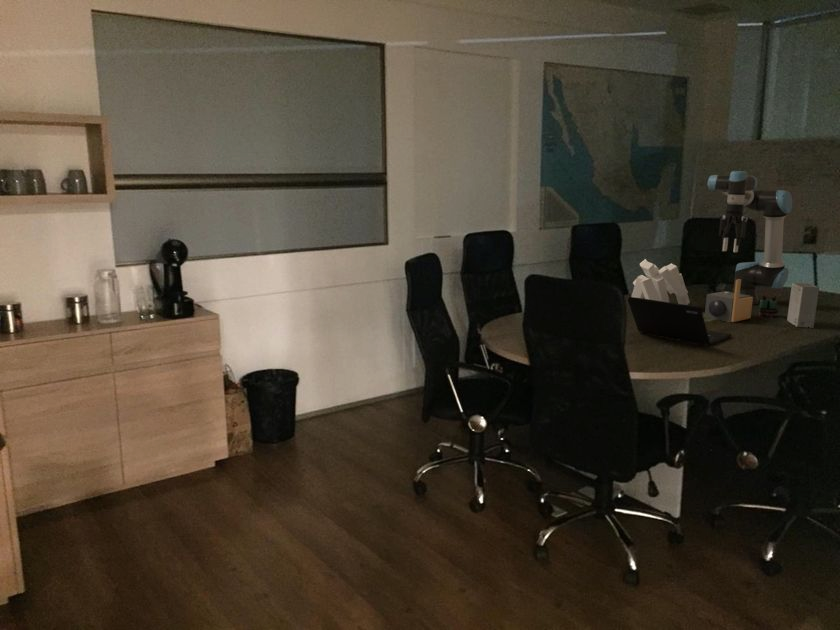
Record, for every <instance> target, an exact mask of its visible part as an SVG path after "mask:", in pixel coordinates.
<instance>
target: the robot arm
mask: <svg viewBox="0 0 840 630" xmlns="http://www.w3.org/2000/svg"><path fill="white" fill-rule="evenodd" d="M757 186H758V178H757V177H755V176H754V175H751V174H748V171H745V170H743V171H742V170H739V171H737V170H733V171H731V172H730V174H729V175H728V174H712V175H710V176H709V177H708V179H707V187H708V189H709V191H710V190H711V191H719V192H721V193H722V194H724V195H726V196H727V198H726V199H727V201H726V203H727V204H726V209H725V214H724V215H720V216H719V230H718V236H719V237H722V239H721V244H722V252H727V251H728V245H729V237H728V235H729V232H730V229H731V226H732V224H733V225H734V229H735V238H734V242H733V253H738V252H739V246H740V245H741V240H742V239H745V238H746V234H747V233H746V232H747V226H748V225H747V223H748V220H749V217H746V216H745V215H743V212H744V208H745V209H748V210H749V211H754V212H761V213H762V217H763V218H765V230H764V235H765V236H764V250H763V251H764V252H763V253H764V254H763V261H762V262H758V261H750V262H749V261H748V262H744V261H743V262H739V263H737V264H736V267H735V271H734V272H735V273H734V283H733V289H732V291H731V293H734V292H735V284H736V280H738V279H741V286H740V294H744V295H750V297H753V302H752V306H753V305H754V306H755V305H758V304H759V296H758V291H757V287H764V288H770V289H782V288H783V287H784V286H785V285H786V283H787V281H788V279H789V272H790V270H789V268H788V267H785V266H786V265H785V264H786V263H784V261H783V244H784V242H783V241H784V224H785V223H784V222H785V221H784V220H785V218H786V217H787V216H788V214H789V213H791V211H792V207H793V197H792V194H791V193H790V192H789V190H780V189H756V188H757Z"/></svg>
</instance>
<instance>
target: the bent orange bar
mask: <svg viewBox="0 0 840 630" xmlns="http://www.w3.org/2000/svg"><path fill="white" fill-rule="evenodd" d="M740 286H741V279H738V280H736V284H735V292H734V301H733V310H732V318H731V322H730V323H735V322H740V321H745V320H749V319H751V316H752V311H753V310H752V308H753V305H752V302H753V297H747V298H741V299H739V295H740Z"/></svg>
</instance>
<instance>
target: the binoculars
mask: <svg viewBox="0 0 840 630" xmlns="http://www.w3.org/2000/svg"><path fill="white" fill-rule="evenodd" d="M767 298H768V297H767V296H765V295H762V299H760V300H759V306H758V311H759V313H758V315H759V316H760V318H767V317H768V316H769V318H770V317H773V318H772V319H775V318H777V314H778V313H779V311H780V310H779V309H778V300H776V299H777V296H772V297H771V299H767Z"/></svg>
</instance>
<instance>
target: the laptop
mask: <svg viewBox="0 0 840 630" xmlns="http://www.w3.org/2000/svg"><path fill="white" fill-rule="evenodd" d="M627 301H628V305H629V308H630V311H631V314H632V317H633V320H634V322H635V325H636V328H637V331H638V332H639V333H640V334H644V335H645V334H646V335H650V334H651V336H655V335H656V336H657V337H660V336H662V338H666V337H668V338H667V339H671V338H673V340H677V339H680V340H679V341H683V340H684V341H683V342H688V341H689V342H688V343H693V342H694V343H695V344H699V343H700V345H704V344H705V345H706V346H711V345H713V344H716V343H719V342H721V341H723V340H726V339H728V338H730V337H732V333H726V332H719V331H714V330H708V329H707V326H706V322H705V316H704V315H703V310H702V307H701V306H696V305H689V304H688V305H683V304H678V303H676V302H671V301H669V302H663V301H656V300H649V299H645V298H644V299H642V298H635V297H631V296H629V297H628V298H627ZM656 336H655V337H656Z"/></svg>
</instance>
